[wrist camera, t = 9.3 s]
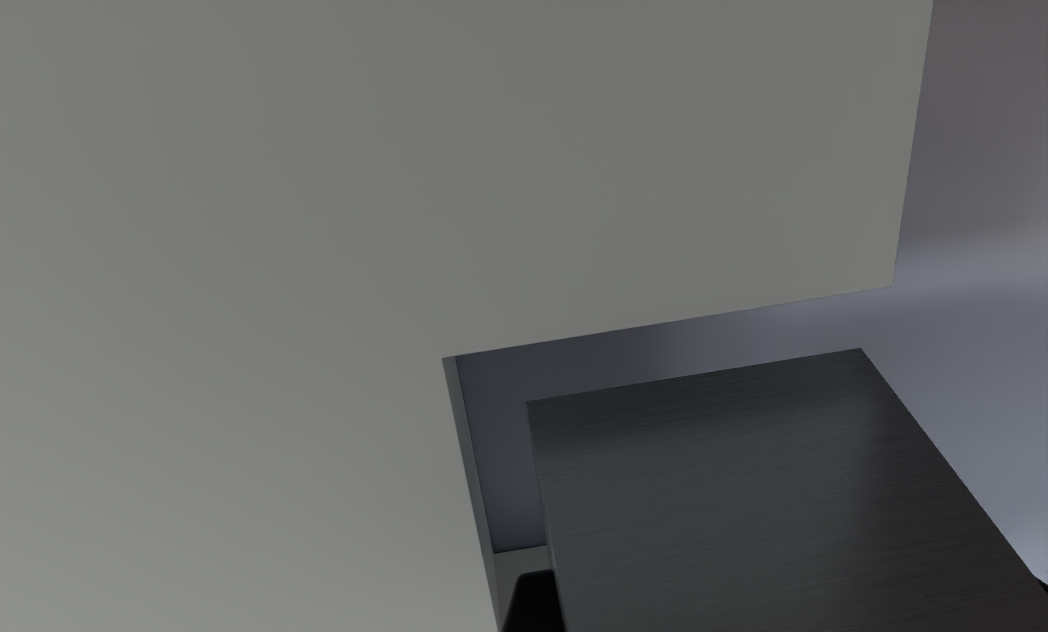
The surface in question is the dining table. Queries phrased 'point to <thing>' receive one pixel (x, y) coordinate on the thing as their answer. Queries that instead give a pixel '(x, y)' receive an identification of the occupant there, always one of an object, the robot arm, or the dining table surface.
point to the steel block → (767, 509)
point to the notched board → (380, 268)
